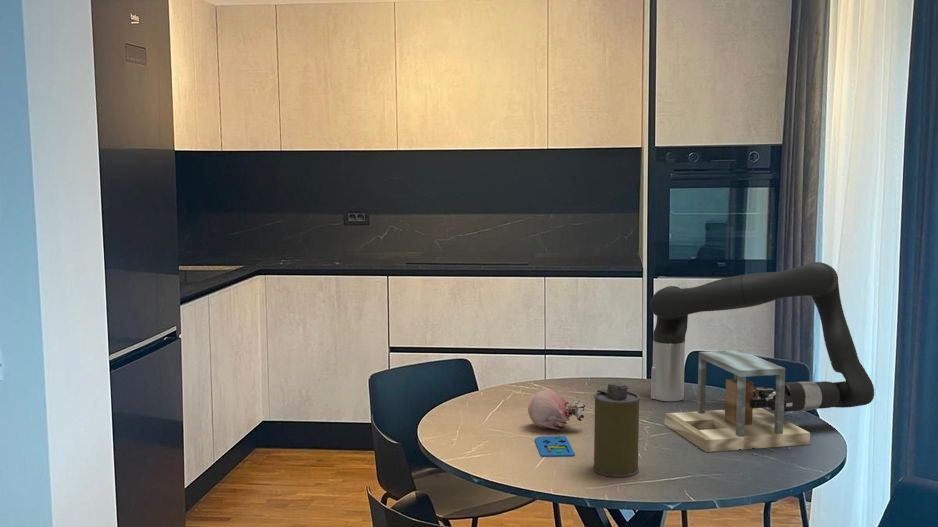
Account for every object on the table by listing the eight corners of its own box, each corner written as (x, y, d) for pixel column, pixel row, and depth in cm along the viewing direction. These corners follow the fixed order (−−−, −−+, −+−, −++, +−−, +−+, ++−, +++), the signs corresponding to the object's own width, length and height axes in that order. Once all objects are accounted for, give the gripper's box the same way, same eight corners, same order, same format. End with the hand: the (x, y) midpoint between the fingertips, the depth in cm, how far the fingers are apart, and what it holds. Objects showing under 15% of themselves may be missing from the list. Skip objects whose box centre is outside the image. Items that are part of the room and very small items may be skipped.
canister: (648, 472, 210) (650, 386, 208) (613, 480, 204) (615, 392, 202) (616, 458, 219) (617, 376, 217) (582, 467, 213) (583, 382, 211)
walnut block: (734, 425, 235) (735, 383, 234) (724, 420, 240) (726, 379, 239) (752, 424, 236) (753, 382, 235) (742, 419, 241) (743, 378, 240)
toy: (588, 417, 249) (533, 410, 253) (589, 383, 245) (533, 377, 248) (581, 443, 239) (524, 435, 242) (581, 408, 234) (524, 401, 238)
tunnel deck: (705, 452, 224) (707, 373, 222) (664, 424, 247) (666, 352, 245) (809, 444, 230) (812, 367, 228) (759, 418, 253) (762, 348, 251)
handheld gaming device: (565, 434, 236) (575, 453, 221) (565, 438, 236) (575, 458, 221) (533, 435, 235) (541, 454, 220) (533, 439, 235) (541, 458, 221)
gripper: (784, 376, 248) (729, 379, 244) (815, 388, 234) (757, 392, 231) (783, 403, 249) (728, 406, 245) (813, 417, 235) (755, 421, 231)
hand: (742, 399), depth 238 cm, fingers open, 8 cm apart
